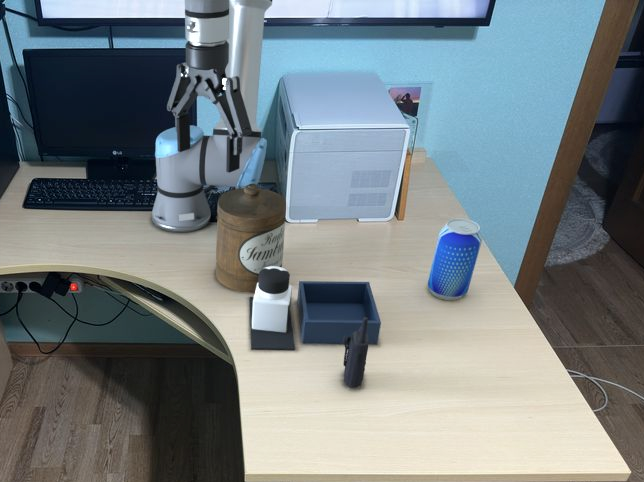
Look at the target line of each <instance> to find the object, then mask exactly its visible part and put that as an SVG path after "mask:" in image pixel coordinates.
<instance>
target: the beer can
mask: <svg viewBox="0 0 644 482" xmlns="http://www.w3.org/2000/svg"><path fill="white" fill-rule="evenodd" d="M482 242H483V236H482V232H481V226H480V224H479V223H478V222H476V221H474V220H472V219H468V218H463V217H455V218H450V219H449V220H448V221H447V222H446V224H445V226H443V227H442V228H441V229H440V231H439V232H438V238H437V242H436V246H435V250H434V254H433V259H432V263H431V268H430V271H429V275H428V280H427V288H428V289H429V291H430V293H431V294H432V295H433V296H434V297H436V298H438V299H441V300H445V301H455V300H459V299H461V298H462V297H463V296H465V295H466V294H467V293H468V291H469V288H470V284H471V281H472V277H473V274H474V270H475V267H476V264H477V259H478V257H479V253H480V249H481V246H482Z"/></svg>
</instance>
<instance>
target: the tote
mask: <svg viewBox="0 0 644 482" xmlns="http://www.w3.org/2000/svg"><path fill="white" fill-rule="evenodd" d="M297 290H298V291H297V300H296V303H297V312H298V317H299V318H298V319H299V326H300V335H301V341H302V344H305V345H306V344H308V345H310V344H312V345H313V344H314V345H318V344H319V345H344V343H343V338H344V336H348V337H349V338H350V336H351V335H352V333H353V332H356V331H359V328H360V327H361V326H362V322H363V318H364V317H367V318H368V322H367V330H366V333H367V334H368V337H369V345H378V341H379V336H380V332H381V325H382V321H381V318H380V314H379V311H378V308H377V304H376V301H375V298H374V294H373V291H372V287H371V283H370V281H329V280H328V281H327V280H326V281H325V280H323V281H317V280H315V281H314V280H313V281H312V280H299V281H298V287H297Z"/></svg>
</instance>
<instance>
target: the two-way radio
mask: <svg viewBox="0 0 644 482" xmlns="http://www.w3.org/2000/svg"><path fill="white" fill-rule="evenodd" d="M367 322H368V318H367V317H364V318H363V322H362V326H361V327H360V328H359V331H356V332H353V333H352V335H351V336H350V338H349V337H348V336H344V338H343V343H344V344H343V345H344V355H343V363H342V364H343V366H344V371H343V381H344V384H345V385H346V386H348V387H350V388H360V387H361V386H362V383H363V380H364V374H365V371H366V364H367V358H368V357H367V356H368V351H369V346H370V344H369V337H368V334H367V333H366V330H367Z"/></svg>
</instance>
